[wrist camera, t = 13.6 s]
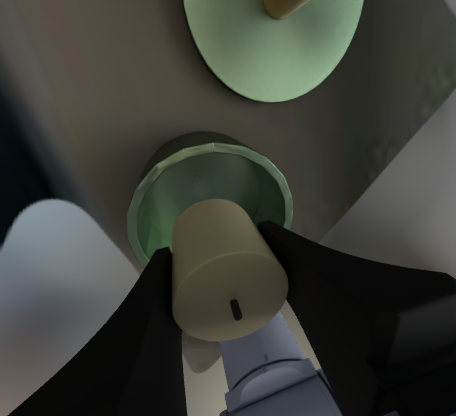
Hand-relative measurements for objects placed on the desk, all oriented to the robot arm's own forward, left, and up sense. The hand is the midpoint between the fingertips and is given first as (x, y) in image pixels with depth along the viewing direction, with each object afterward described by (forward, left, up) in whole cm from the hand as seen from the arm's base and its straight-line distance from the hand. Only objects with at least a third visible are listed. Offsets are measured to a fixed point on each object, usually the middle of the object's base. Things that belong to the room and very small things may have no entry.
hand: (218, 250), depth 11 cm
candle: (0, 0, -1) cm, 1 cm away
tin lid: (+12, -8, -9) cm, 16 cm away
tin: (-1, 0, -9) cm, 9 cm away
